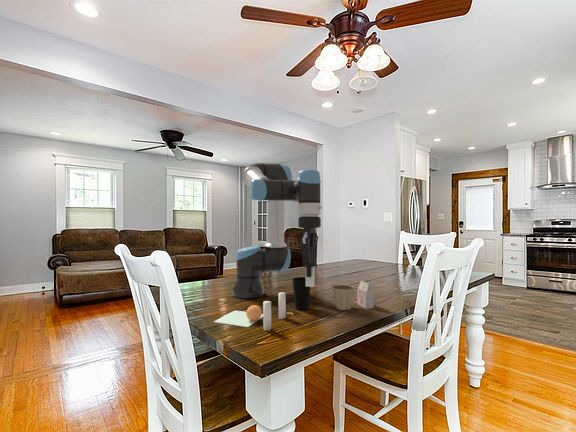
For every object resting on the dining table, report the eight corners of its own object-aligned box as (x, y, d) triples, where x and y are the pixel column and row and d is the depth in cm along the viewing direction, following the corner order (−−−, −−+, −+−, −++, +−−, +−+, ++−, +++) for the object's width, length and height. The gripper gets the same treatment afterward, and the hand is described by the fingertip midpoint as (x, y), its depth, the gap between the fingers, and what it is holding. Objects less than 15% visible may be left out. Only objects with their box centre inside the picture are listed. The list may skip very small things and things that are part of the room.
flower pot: (330, 304, 123) (330, 284, 123) (352, 304, 122) (352, 284, 123) (333, 311, 113) (333, 289, 114) (357, 311, 113) (357, 289, 113)
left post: (265, 327, 97) (265, 300, 97) (272, 328, 96) (272, 301, 96) (262, 330, 94) (261, 302, 94) (269, 331, 93) (269, 303, 93)
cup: (309, 311, 114) (309, 281, 114) (291, 310, 115) (290, 280, 116) (312, 306, 121) (311, 277, 122) (294, 305, 123) (294, 276, 123)
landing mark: (234, 310, 115) (234, 310, 115) (266, 314, 110) (266, 314, 110) (213, 322, 102) (213, 321, 102) (247, 327, 97) (247, 326, 97)
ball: (266, 315, 105) (254, 320, 106) (260, 301, 106) (248, 306, 107) (260, 320, 100) (247, 325, 101) (253, 305, 100) (241, 311, 102)
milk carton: (364, 303, 124) (364, 280, 124) (373, 308, 118) (373, 283, 118) (357, 304, 123) (356, 281, 123) (365, 309, 117) (365, 284, 117)
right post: (280, 316, 108) (280, 292, 109) (286, 316, 107) (286, 292, 108) (277, 318, 106) (277, 293, 106) (284, 319, 105) (283, 294, 105)
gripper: (314, 215, 89) (315, 291, 89) (325, 216, 102) (325, 283, 101) (292, 215, 92) (292, 289, 92) (305, 216, 104) (305, 281, 104)
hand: (310, 286), depth 96 cm, fingers closed
